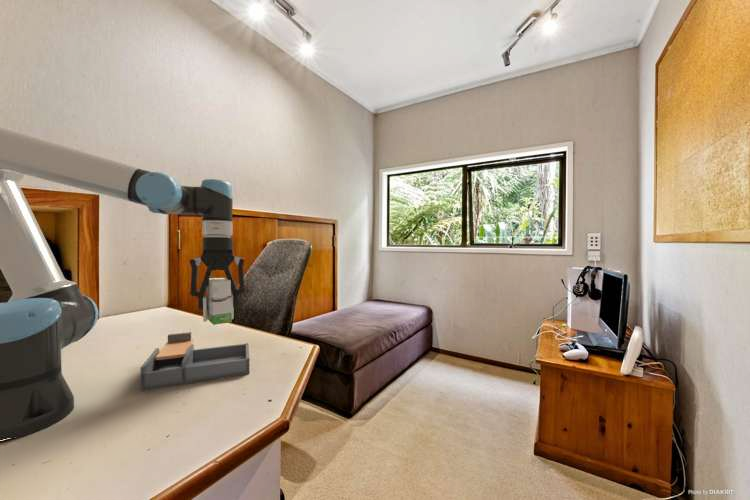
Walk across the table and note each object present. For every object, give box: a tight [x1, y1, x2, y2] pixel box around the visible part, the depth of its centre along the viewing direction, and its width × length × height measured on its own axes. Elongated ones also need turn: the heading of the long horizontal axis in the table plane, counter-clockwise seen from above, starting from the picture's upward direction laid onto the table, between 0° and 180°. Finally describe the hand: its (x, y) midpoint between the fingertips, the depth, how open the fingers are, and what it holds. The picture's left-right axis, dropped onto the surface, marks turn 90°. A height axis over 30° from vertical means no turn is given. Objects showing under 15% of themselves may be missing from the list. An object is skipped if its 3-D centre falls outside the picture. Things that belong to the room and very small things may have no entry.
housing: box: [140, 342, 250, 391], centre depth 84 cm, size 24×14×6 cm, turn 113°
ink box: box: [206, 277, 233, 326], centre depth 85 cm, size 9×5×12 cm, turn 39°
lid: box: [155, 331, 194, 360], centre depth 88 cm, size 7×13×3 cm, turn 23°
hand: (218, 319), depth 86 cm, fingers closed on ink box, 6 cm apart
